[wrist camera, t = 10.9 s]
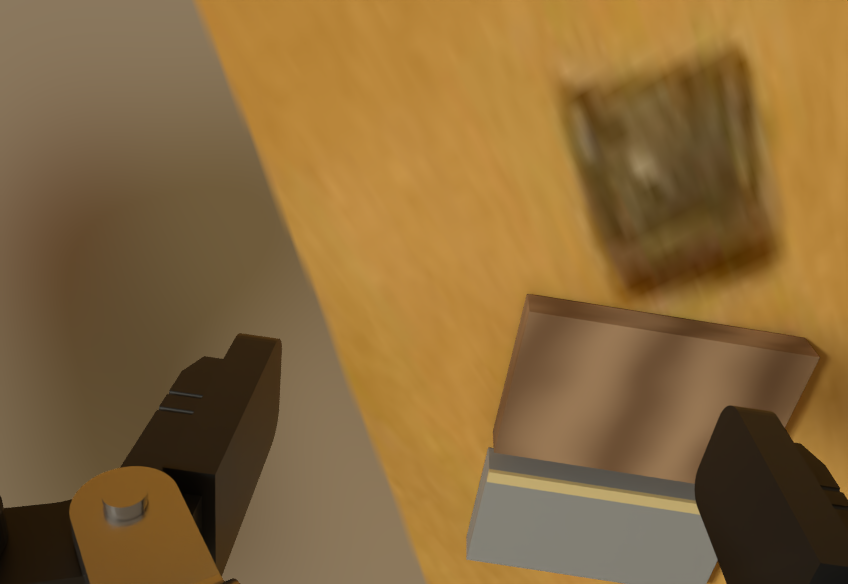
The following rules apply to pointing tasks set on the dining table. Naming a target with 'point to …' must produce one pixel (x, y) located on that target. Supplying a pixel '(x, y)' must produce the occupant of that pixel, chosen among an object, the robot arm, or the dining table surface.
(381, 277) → the dining table surface
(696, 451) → the walnut plank
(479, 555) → the board
